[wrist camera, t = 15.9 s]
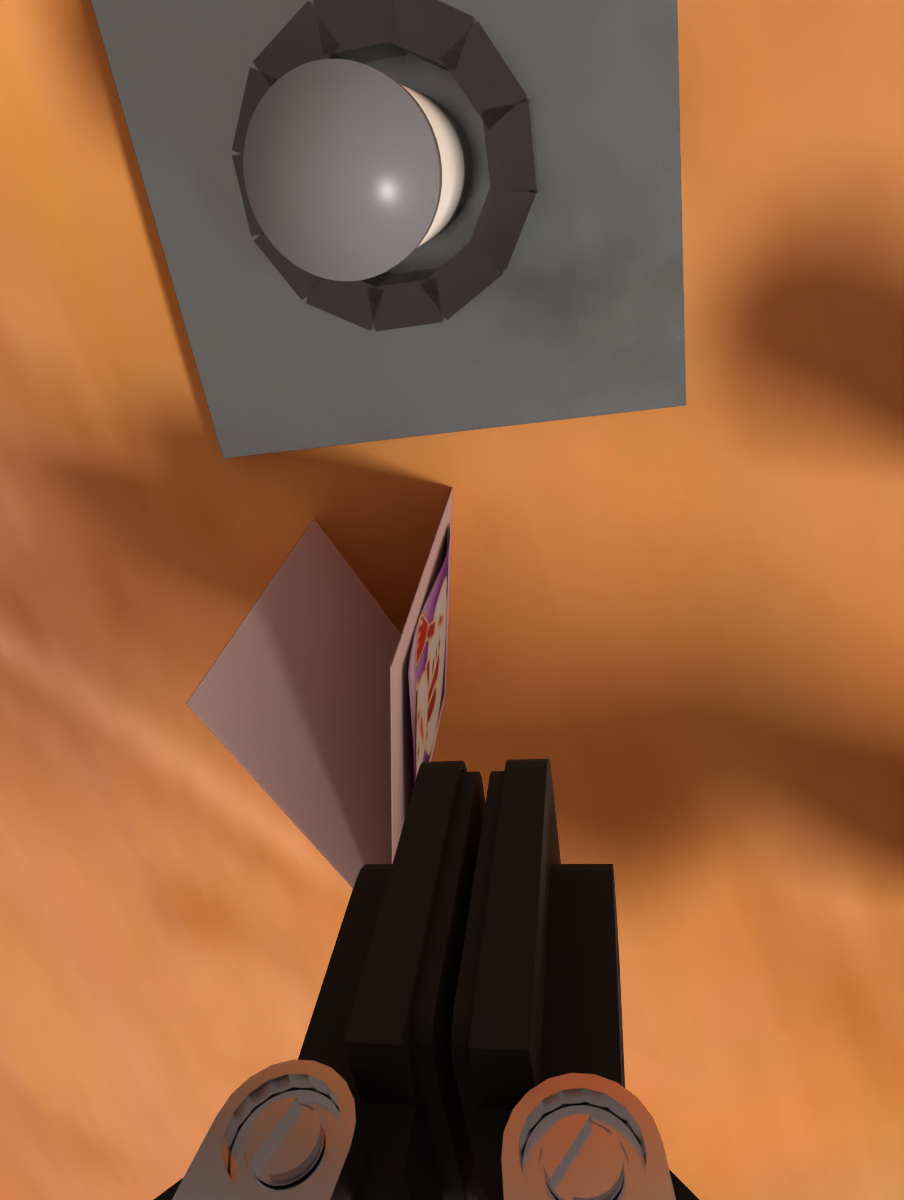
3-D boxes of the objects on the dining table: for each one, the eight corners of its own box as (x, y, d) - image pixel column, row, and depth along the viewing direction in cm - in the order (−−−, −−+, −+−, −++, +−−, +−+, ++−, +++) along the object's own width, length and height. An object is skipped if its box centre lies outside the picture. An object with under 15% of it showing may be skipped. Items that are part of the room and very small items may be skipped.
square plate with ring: (666, -250, 25) (686, -329, 21) (682, 397, 34) (698, 430, 30) (77, -102, 29) (-5, -145, 25) (232, 449, 38) (192, 485, 34)
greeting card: (462, 696, 43) (417, 935, 30) (322, 683, 43) (217, 911, 30) (471, 488, 37) (420, 669, 24) (311, 477, 38) (177, 647, 25)
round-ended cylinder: (460, 71, 29) (414, 35, 20) (485, 231, 31) (453, 262, 22) (319, 105, 30) (217, 85, 21) (354, 258, 32) (275, 296, 23)
